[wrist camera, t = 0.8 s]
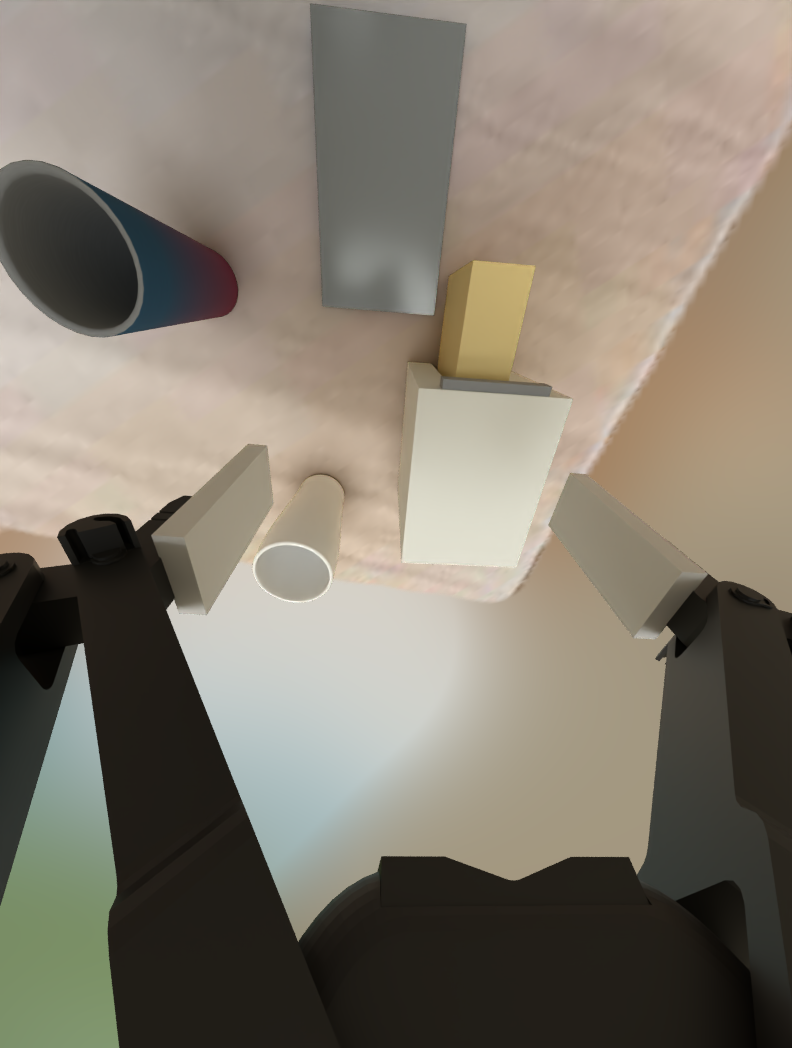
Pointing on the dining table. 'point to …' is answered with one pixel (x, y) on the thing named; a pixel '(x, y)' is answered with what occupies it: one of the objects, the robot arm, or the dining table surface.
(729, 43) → the dining table surface
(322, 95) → the slate pad
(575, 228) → the dining table surface
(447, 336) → the yellow rectangular block
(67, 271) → the cup
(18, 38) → the dining table surface
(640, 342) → the dining table surface
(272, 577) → the drinking glass
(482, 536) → the box
